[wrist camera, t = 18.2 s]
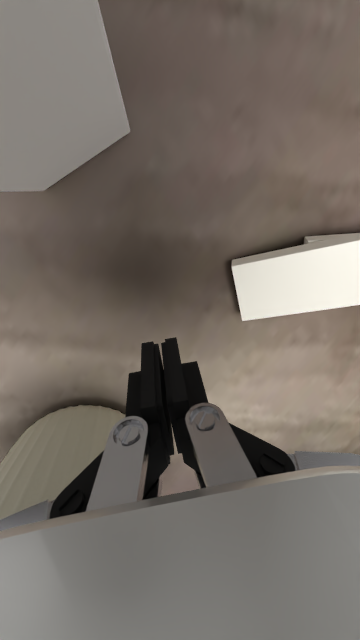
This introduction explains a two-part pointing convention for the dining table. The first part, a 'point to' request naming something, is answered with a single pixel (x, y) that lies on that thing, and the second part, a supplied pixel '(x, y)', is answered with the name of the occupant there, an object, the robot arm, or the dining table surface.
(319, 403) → the dining table surface
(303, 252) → the domino
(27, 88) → the milk carton
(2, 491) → the canister
